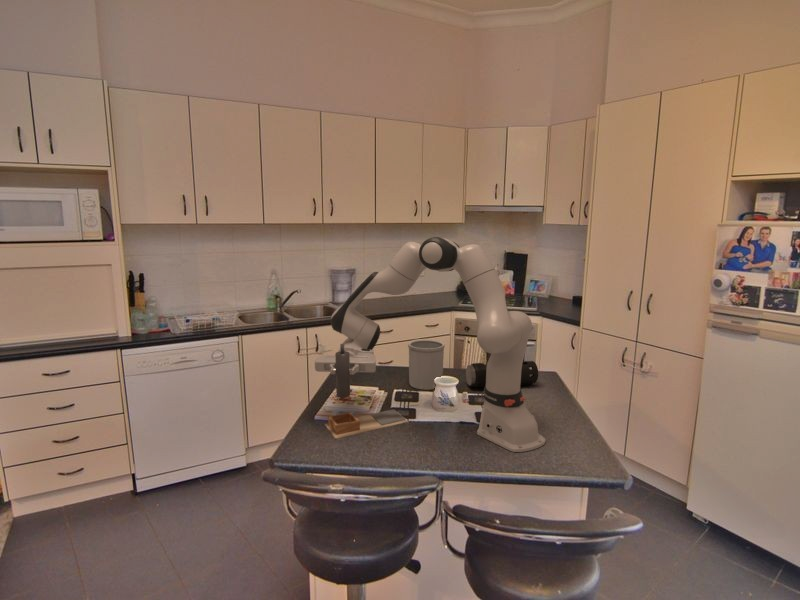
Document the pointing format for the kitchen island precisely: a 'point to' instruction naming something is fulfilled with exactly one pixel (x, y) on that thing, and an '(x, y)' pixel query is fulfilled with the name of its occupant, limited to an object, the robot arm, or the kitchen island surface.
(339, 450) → the kitchen island surface
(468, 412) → the kitchen island surface
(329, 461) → the kitchen island surface
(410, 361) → the utensil holder
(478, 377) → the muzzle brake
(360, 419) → the cable board
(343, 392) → the plug
